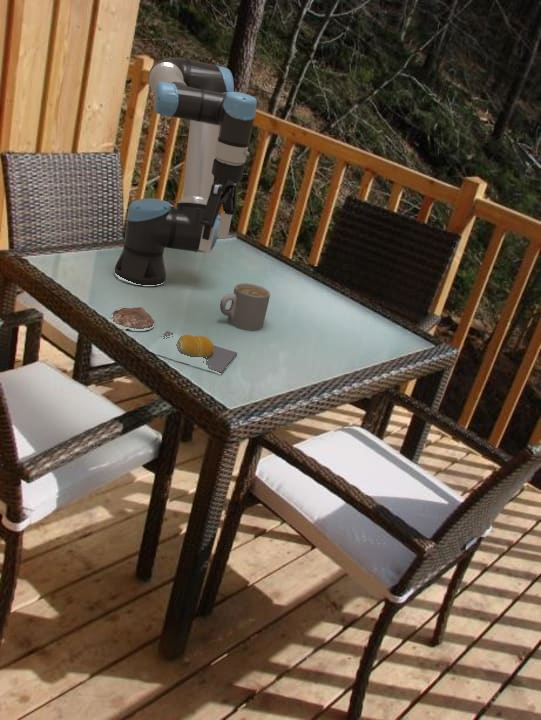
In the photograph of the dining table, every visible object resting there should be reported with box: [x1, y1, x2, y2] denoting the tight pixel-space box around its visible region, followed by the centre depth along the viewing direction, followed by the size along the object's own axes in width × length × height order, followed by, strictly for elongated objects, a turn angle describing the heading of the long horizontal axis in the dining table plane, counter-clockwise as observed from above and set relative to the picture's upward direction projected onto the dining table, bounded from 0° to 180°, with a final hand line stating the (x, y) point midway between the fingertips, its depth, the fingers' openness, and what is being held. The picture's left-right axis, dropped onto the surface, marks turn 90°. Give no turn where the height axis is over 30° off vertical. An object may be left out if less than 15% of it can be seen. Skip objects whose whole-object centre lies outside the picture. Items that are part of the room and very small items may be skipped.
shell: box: [111, 306, 155, 329], centre depth 184 cm, size 12×13×4 cm
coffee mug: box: [219, 282, 271, 332], centre depth 198 cm, size 13×10×10 cm
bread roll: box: [176, 334, 215, 358], centre depth 174 cm, size 8×9×4 cm
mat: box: [160, 330, 238, 373], centre depth 175 cm, size 19×13×1 cm
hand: (213, 244), depth 182 cm, fingers open, 13 cm apart
